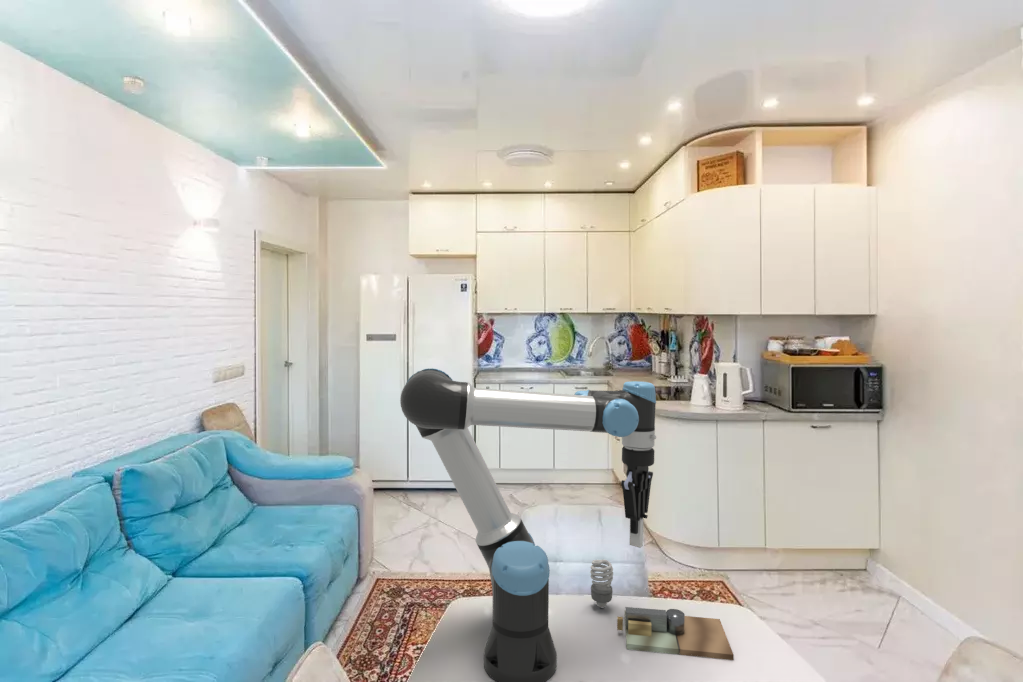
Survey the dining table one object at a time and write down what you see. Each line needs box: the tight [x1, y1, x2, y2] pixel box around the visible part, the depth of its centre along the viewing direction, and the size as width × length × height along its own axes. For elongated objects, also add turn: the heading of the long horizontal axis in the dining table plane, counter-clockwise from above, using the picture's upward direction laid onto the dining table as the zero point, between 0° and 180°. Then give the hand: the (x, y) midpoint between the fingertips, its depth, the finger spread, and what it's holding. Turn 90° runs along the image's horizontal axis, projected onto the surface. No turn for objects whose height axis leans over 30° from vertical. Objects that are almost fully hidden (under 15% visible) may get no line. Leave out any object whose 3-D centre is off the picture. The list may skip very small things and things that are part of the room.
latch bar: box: [624, 606, 686, 635], centre depth 122 cm, size 13×4×4 cm, turn 81°
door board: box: [616, 612, 735, 661], centre depth 122 cm, size 24×14×4 cm, turn 80°
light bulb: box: [589, 559, 614, 609], centre depth 134 cm, size 6×6×12 cm
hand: (636, 545), depth 128 cm, fingers closed
